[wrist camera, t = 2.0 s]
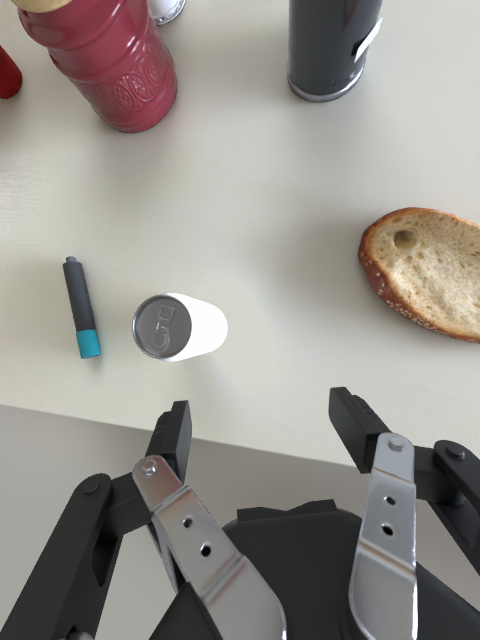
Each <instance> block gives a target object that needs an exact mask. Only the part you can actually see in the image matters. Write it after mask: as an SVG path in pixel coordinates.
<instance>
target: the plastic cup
mask: <svg viewBox="0 0 480 640" xmlns="http://www.w3.org/2000/svg"><path fill="white" fill-rule="evenodd" d="M21 82H22V75H21V72H20V70H19V68H18V67H17V66H16V64H15V62H14V61H13V60H12V59H11V58H10V56H9V55H8V54H7V53H6V52H5V50H4V49H3V48H2V47H1V45H0V98H3V99H7V98H10V97H12V96H13V95H14V94H15V93H16V92H17V91H18V90H19V88H20V86H21Z"/></svg>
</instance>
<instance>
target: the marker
mask: <svg viewBox="0 0 480 640" xmlns="http://www.w3.org/2000/svg"><path fill="white" fill-rule="evenodd" d="M63 270H64V274H65V279H66V284H67V289H68V294H69V299H70V303H71V308H72V313H73V318H74V323H75V327H76V332H77V333H76V336H77V341H78V346H79V351H80V356H81V359H84V358H90V357H94V356H98V355H100V354H101V353H100V348H99V344H98V339H97V334H96V330H95V325H94V321H93V316H92V311H91V307H90V302H89V297H88V293H87V288H86V283H85V279H84V274H83V269H82V265H81V263H79V262H76V258H75V257H67V258H66V263H64V264H63Z"/></svg>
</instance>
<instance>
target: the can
mask: <svg viewBox="0 0 480 640" xmlns="http://www.w3.org/2000/svg"><path fill="white" fill-rule="evenodd" d="M132 332H133V337H134V340H135V342H136V344H137V346H138V347H139V348H140V349H141V351H143V352H144V353H145V354H146V355H148V356H150V357H152V358H156V359H159V360H162V361H178V360H182V359H186V358H190V357H194V356H197V355H201V354H204V353H207V352H210V351H213V350H215V349H216V348H218V347H219V346H220V345H221V344H222V343H223V341H224V339H225V337H226V334H227V322H226V319H225V317H224V315H223V313H222V312H221V311H220V310H219V309H218V308H216V307H215V306H213V305H210V304H208V303H205V302H202V301H199V300H196V299H193V298H191V297H188V296H185V295H181V294H177V293H165V294H161V295H156V296H153V297H150V298H149V299H147V300H145V301H144V302H143V303H142V304H141V305H140V306H139V308H138V309H137V311H136V313H135V315H134V318H133V323H132Z"/></svg>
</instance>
